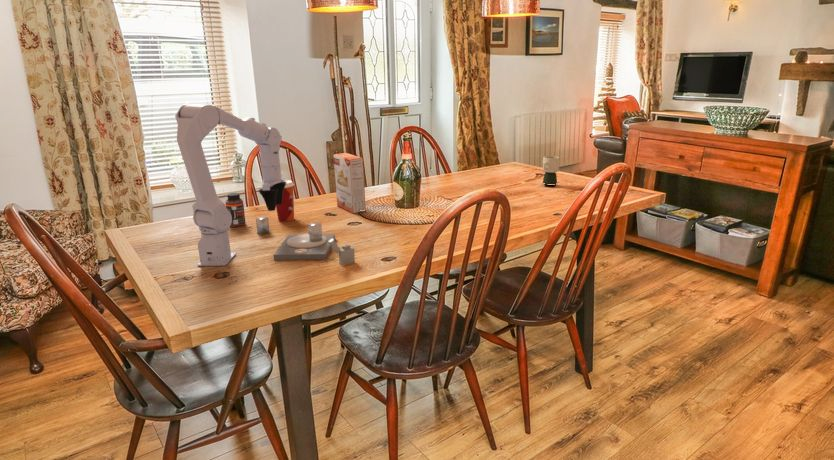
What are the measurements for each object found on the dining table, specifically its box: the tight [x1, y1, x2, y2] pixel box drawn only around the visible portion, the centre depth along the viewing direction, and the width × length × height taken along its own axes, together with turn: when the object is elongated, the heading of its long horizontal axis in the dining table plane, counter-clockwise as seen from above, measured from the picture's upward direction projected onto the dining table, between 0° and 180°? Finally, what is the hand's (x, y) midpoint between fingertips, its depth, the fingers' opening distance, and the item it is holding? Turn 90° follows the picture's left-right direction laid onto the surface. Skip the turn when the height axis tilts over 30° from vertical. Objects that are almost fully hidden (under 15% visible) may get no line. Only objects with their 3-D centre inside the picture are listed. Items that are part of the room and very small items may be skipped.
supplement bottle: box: [225, 192, 246, 228], centre depth 182 cm, size 6×6×11 cm
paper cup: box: [275, 179, 295, 223], centre depth 188 cm, size 8×8×14 cm
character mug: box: [542, 155, 560, 184], centre depth 231 cm, size 11×7×13 cm, turn 133°
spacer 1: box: [255, 216, 270, 235], centre depth 175 cm, size 4×4×5 cm
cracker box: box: [333, 152, 367, 214], centre depth 199 cm, size 14×6×21 cm, turn 33°
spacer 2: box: [307, 222, 323, 242], centre depth 159 cm, size 4×4×5 cm
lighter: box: [328, 239, 356, 266], centre depth 145 cm, size 7×2×8 cm, turn 124°
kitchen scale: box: [272, 233, 336, 261], centre depth 159 cm, size 18×15×2 cm
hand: (275, 207), depth 168 cm, fingers open, 7 cm apart
